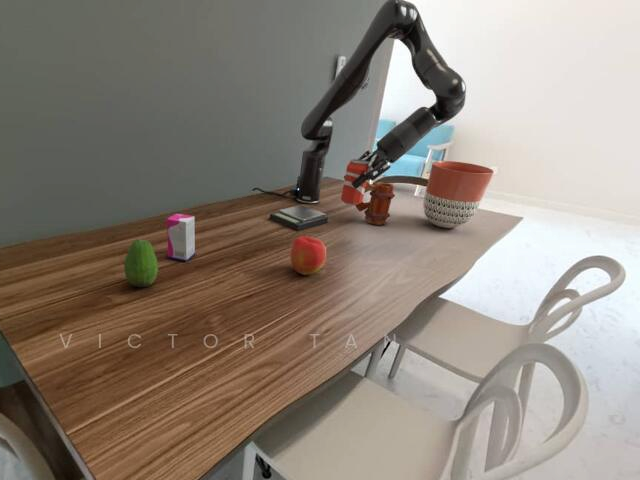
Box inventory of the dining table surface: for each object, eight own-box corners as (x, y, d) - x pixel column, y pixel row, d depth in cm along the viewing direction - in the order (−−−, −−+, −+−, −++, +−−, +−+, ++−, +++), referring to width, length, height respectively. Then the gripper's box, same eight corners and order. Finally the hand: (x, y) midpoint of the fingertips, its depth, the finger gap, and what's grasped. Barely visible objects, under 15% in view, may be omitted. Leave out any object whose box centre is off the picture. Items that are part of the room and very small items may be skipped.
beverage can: (365, 203, 119) (374, 161, 112) (354, 207, 114) (363, 164, 108) (347, 198, 122) (355, 158, 116) (336, 202, 118) (344, 160, 112)
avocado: (161, 291, 94) (158, 244, 88) (126, 294, 92) (121, 247, 85) (157, 276, 100) (154, 231, 94) (125, 278, 98) (120, 233, 92)
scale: (269, 218, 143) (269, 212, 142) (299, 211, 152) (299, 205, 151) (297, 230, 134) (298, 224, 133) (327, 222, 143) (328, 216, 142)
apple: (314, 284, 101) (320, 248, 96) (281, 273, 105) (285, 239, 100) (327, 271, 108) (334, 237, 103) (296, 261, 112) (300, 228, 107)
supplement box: (195, 254, 113) (195, 215, 107) (186, 262, 108) (185, 222, 102) (177, 250, 115) (176, 212, 109) (167, 258, 110) (165, 218, 104)
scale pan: (278, 212, 143) (278, 210, 143) (300, 207, 150) (301, 205, 150) (303, 221, 136) (303, 219, 135) (325, 216, 143) (325, 213, 142)
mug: (385, 220, 149) (395, 180, 142) (390, 227, 142) (401, 185, 135) (346, 216, 150) (354, 176, 142) (349, 224, 143) (358, 182, 135)
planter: (470, 223, 152) (491, 166, 141) (472, 239, 136) (496, 176, 125) (416, 213, 158) (433, 158, 147) (413, 228, 143) (431, 167, 132)
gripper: (381, 127, 115) (334, 167, 119) (403, 135, 102) (350, 180, 107) (393, 147, 118) (348, 185, 123) (416, 157, 106) (365, 199, 111)
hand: (349, 182), depth 115 cm, fingers closed on beverage can, 6 cm apart
